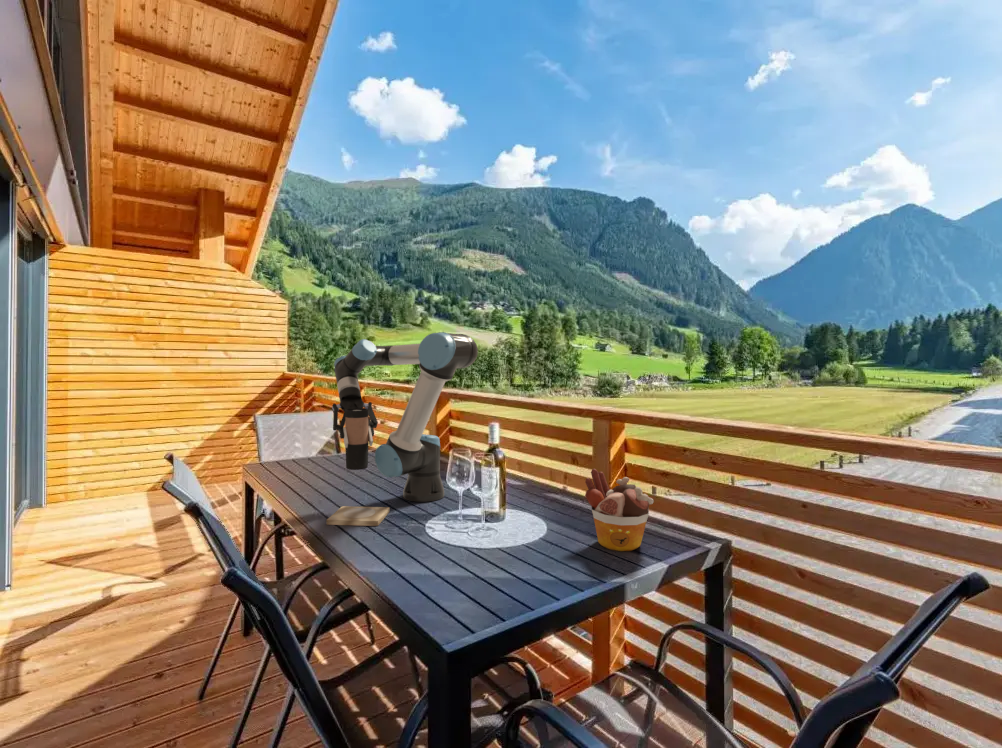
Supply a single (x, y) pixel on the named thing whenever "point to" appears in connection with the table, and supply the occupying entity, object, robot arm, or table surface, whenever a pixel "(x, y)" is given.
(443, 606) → the table surface
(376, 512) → the coaster board
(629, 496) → the bucket of meat
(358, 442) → the travel mug
